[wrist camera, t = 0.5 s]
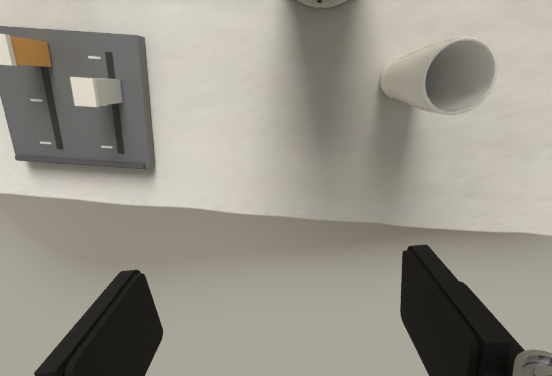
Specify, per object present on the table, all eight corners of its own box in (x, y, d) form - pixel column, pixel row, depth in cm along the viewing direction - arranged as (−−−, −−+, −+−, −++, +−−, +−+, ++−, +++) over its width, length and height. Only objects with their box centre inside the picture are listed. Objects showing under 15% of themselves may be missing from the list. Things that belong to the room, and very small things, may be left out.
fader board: (-4, 27, 39) (-24, 23, 37) (144, 37, 39) (134, 34, 37) (27, 157, 46) (12, 161, 43) (155, 165, 46) (147, 170, 43)
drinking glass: (423, 99, 41) (495, 109, 27) (374, 107, 42) (421, 121, 28) (423, 47, 39) (502, 28, 25) (372, 56, 39) (421, 43, 25)
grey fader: (101, 77, 39) (69, 76, 33) (120, 78, 39) (92, 78, 33) (104, 102, 40) (74, 105, 34) (123, 103, 40) (96, 107, 34)
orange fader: (27, 39, 38) (-19, 32, 32) (47, 41, 38) (4, 33, 32) (33, 66, 39) (-11, 64, 33) (52, 67, 39) (12, 65, 33)
